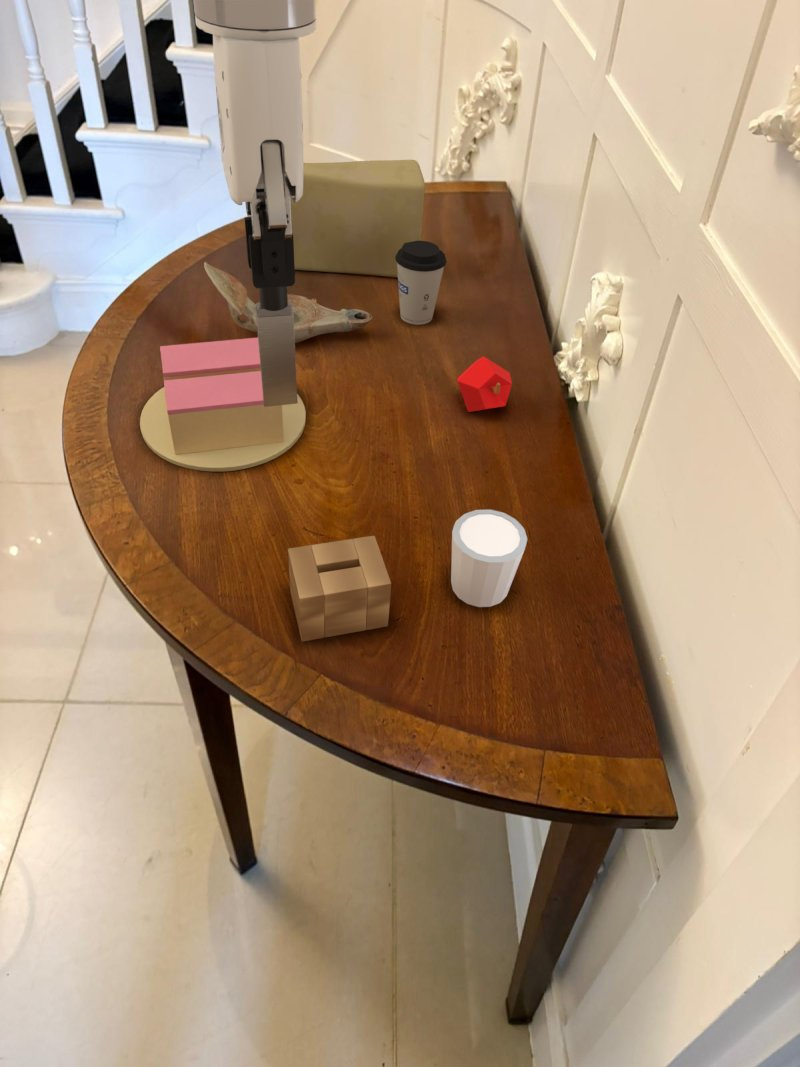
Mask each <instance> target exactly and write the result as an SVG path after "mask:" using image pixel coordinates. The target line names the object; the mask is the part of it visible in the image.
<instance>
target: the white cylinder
mask: <svg viewBox="0 0 800 1067" xmlns="http://www.w3.org/2000/svg"><path fill="white" fill-rule="evenodd" d="M527 542H528V536H527V533H526V529H525V528H524V527H523V525H522V524H521V523H520V522H519V521H518V519H516V518H515V517H512V516H511V515H509V514H507V513H506V512H502V511H499V510H495V509H474V510H472V511H468V512H466V513H464V514H462V515H461V516H460V517H459V518H458V519H457V520H455V522H454V524H453V527H452V531H451V563H450V564H451V565H450V566H451V569H450V583H451V589H452V591H453V593H454V594H455V596H456V597H457V598H458V599H459V600H461V601H462V602H463V603H465V604H467V605H469V606H473V607H477V608H491V607H494V606H496V605H499V604H501V603H502V602H503V601H504V600H505V599H506V597H508V593H509V591H510V588H511V586H512V584H513V581H514V579H515V576H516V574H517V570H518V569H519V566H520V562H521V561H522V558H523V555H524V554H525V553H524V552H525V550H526V547H527Z"/></svg>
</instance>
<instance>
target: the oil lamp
mask: <svg viewBox="0 0 800 1067" xmlns="http://www.w3.org/2000/svg"><path fill="white" fill-rule="evenodd" d="M203 268H204V270H205V273H206V274H207V276H208V278H209V279H210V281H211V282H212V284H213V285H214V287H215V288H216V289H217V291H218V292H219V293H220V294H221V296H222V297H223V298H224V299H225V300H226V302H227V306H228V310H229V313H230V316H231V319H232V321H233V323H234V324H235V325H236V326H237V327H238V328H241V329H243V330H246V331H250V332H255V333H257V321H256V314H257V310H256V303H254V302H253V301H252V300H251V298H249V297H248V292H247V288H246V286H245V285H244V284H243V283H242V282H241V281H240V280H238V279H237V278H235V276H233V275H231V274H229V273H228V272H226V271H224V270H222V269H220V268H218V267H215V266H212V265H210V264H209V263H208V262H207V261H205V262H203ZM287 299H288V300H290V301H291V305H292V311H293V318H294V338H295V344H296V343H300V342H303V341H305V340H308V339H310V338H313V337H316V336H321V335H326V334H332V333H342V332H343V333H344V332H352V331H357V330H358V331H359V330H360V329H362V328H364V327H366V326H367V325H369V324H370V323H371V321H372V320H373V316H372V314H371V313H370V312H367V311H365V310H362V309H357V308H350V309H346V308H341V309H340V310H335V309H331V308H328V307H326V306H324V305H320V304H319V303H317V298H311V299H310V298H308V297H305V296H302V295H298V294H292V293H291V294H289V293H287ZM258 303H260V301H259V302H258ZM240 316H245V317H246V318H247V320H241V318H240Z"/></svg>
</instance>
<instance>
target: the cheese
mask: <svg viewBox="0 0 800 1067" xmlns="http://www.w3.org/2000/svg"><path fill="white" fill-rule="evenodd" d="M303 166H304V172H303V196H302V197H301V198H300V200H299V201H297V202H296V203H294V202H293V200H292V198H291V196H290V199H291V202H290V205H291V228H292V233H293V240H294V266H295V271H306V272H307V271H308V272H323V273H337V274H339V273H340V274H350V275H351V274H354V275H365V276H376V277H377V276H378V277H387V278H396V279H398V269H397V262H396V259H395V256H396V254H397V252H398V251H399V249H401V248H402V246H403V245H404V243H407V242H412V241H422V231H423V218H424V217H423V216H424V205H425V194H426V193H425V191H426V183H425V179H424V178H425V177H424V176H423V175H424V174H423V172H422V169H421V166H420V164H419V162H418V161H417V160H415V159H393V160H392V159H391V160H389V159H387V160H386V159H385V160H382V159H381V160H356V161H341V162H336V161H335V162H303Z"/></svg>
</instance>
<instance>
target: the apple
mask: <svg viewBox="0 0 800 1067" xmlns="http://www.w3.org/2000/svg"><path fill="white" fill-rule="evenodd" d="M456 381H457V384H458V387H459V389H460V392H461V395H462V398H463V401H464V404H465V407H466V410H467V412H468V413H472V412H477V411H478V412H479V411H484V410H491V409H497V408H503V407H506V406H507V402H508V399H509V395H510V392H511V389H512V385H513V382H512V377H511V372H509V371H508V370H506V369H504V368H503V367H502V366H500V365H498V364H497V363H495V362H494V361H492V360H490V359H489V358H488V357H486V356H481V357H480V358H479V359H477V360H475V361H474V362H472V364H471V365H469V367H468V368H467V369H465V370H464V371H463V372H462V373H461V374H460V375H459V376H458V377H457V380H456Z"/></svg>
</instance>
